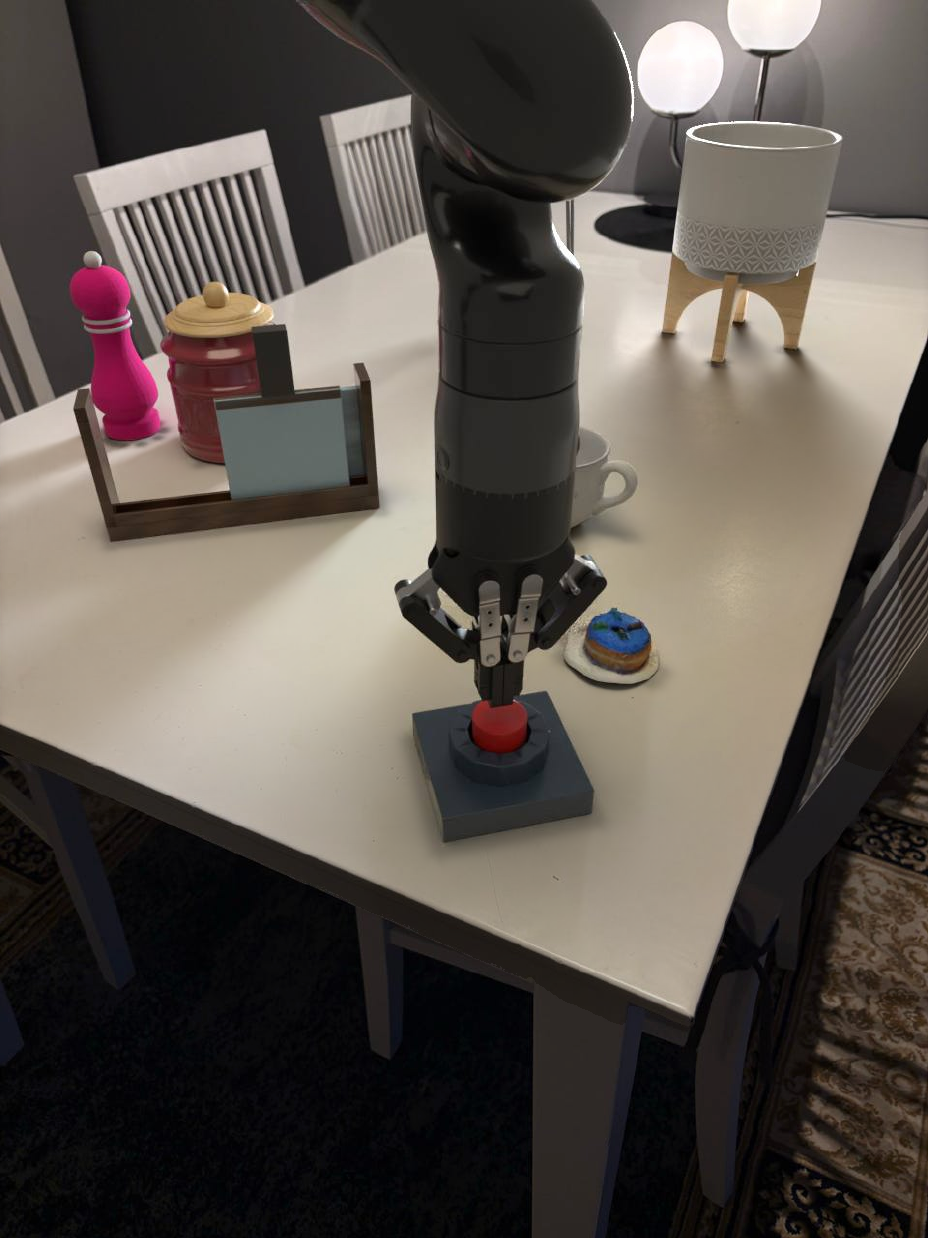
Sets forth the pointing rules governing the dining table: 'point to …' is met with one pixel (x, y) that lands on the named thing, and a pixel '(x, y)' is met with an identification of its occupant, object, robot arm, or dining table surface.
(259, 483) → the window pane
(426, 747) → the button box
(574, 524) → the teacup
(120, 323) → the pepper mill
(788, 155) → the planter
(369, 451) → the window frame
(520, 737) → the button
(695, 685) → the dining table surface
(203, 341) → the kitchen canister
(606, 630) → the dessert
